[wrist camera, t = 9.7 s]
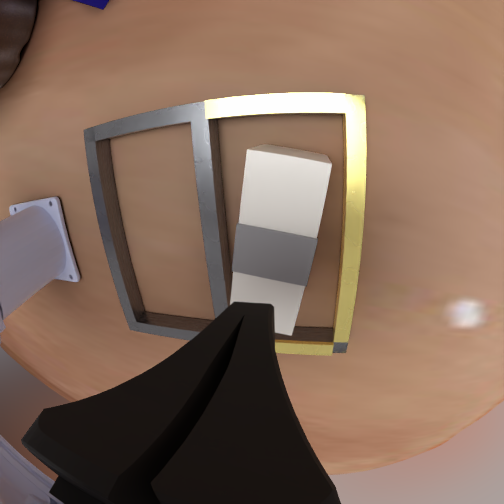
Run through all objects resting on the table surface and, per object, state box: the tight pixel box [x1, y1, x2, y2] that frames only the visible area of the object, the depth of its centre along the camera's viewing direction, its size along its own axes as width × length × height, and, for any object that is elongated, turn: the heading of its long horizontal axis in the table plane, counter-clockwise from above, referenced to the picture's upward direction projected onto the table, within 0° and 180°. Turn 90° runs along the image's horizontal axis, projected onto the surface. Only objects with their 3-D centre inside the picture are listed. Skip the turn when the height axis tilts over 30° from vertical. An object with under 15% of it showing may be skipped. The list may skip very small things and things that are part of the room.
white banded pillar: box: [230, 144, 332, 336], centre depth 15 cm, size 4×9×5 cm, turn 173°
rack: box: [84, 93, 366, 356], centre depth 17 cm, size 17×16×2 cm
